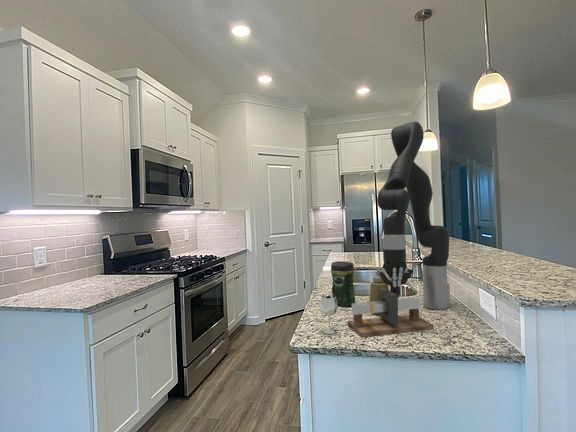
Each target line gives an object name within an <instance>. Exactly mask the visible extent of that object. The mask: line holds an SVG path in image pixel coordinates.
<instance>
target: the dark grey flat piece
mask: <svg viewBox="0 0 576 432" xmlns="http://www.w3.org/2000/svg"><path fill="white" fill-rule="evenodd" d="M378 299H379V301H384V300H387V301H388V309H389V312H379V315H378V317H379V318H383V319H384V320H386V321H387V322H389V323H390V324H392V325H398V316H399V310H398V299H399V297H398V295H397V294H395V293H393V292H391V290H390V289H389V290H387V289H384V288H378Z"/></svg>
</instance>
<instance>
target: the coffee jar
mask: <svg viewBox="0 0 576 432" xmlns="http://www.w3.org/2000/svg"><path fill="white" fill-rule="evenodd" d="M330 273H331V276H332V288H331V290H332V293H331V295H334V296H336V300H337V305H338V306H340V307H352V304H353V303H356V295H355V287H354V274H355V267H354V263H353V262H352V261H343V260H341V261H340V260H339V261H338V260H337V261H333V262H331V265H330Z"/></svg>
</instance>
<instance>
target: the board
mask: <svg viewBox="0 0 576 432" xmlns="http://www.w3.org/2000/svg"><path fill="white" fill-rule="evenodd" d="M352 315H353V319H352V320H347V326H348V327H349V328H350V329H351V330H352V331H353V332H355V334H357V335H358V336H359V337H360V338H369V337H376V336H377V337H378V336H385V335H394V334H402V333H414V332H419V331H421V332H423V331H429V330H434V329H435V328H434V324H433V323H431V322H429V321H427V320H425V319H424V318H422V317H420V308H418V309H408V314H403V315H402V314H401V315H398V325H392V324H390V323H389V322H387V321H386V320H384V319H383V318H381V317H376V318H375V317H374V318H365V319H364V318H363V314H359V315H355V314H354V313H352Z"/></svg>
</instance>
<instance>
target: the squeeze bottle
mask: <svg viewBox="0 0 576 432" xmlns="http://www.w3.org/2000/svg"><path fill="white" fill-rule="evenodd" d="M381 269H382V268H381V267H380V266H378V267H376V272H375V273H376V274H375V276H374V275H373V276H372V282H370V288H369V290H370V291H369V301H370V302H374V301H379V299H378V288H384V289H387V290H389V291H390V289H389V285H387V284H385V283H384V281H383V280H382V279H381V278H380V276H379V275H378V274H377V271H380V270H381ZM373 315H377V316H379V313H374V314H373Z"/></svg>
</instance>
